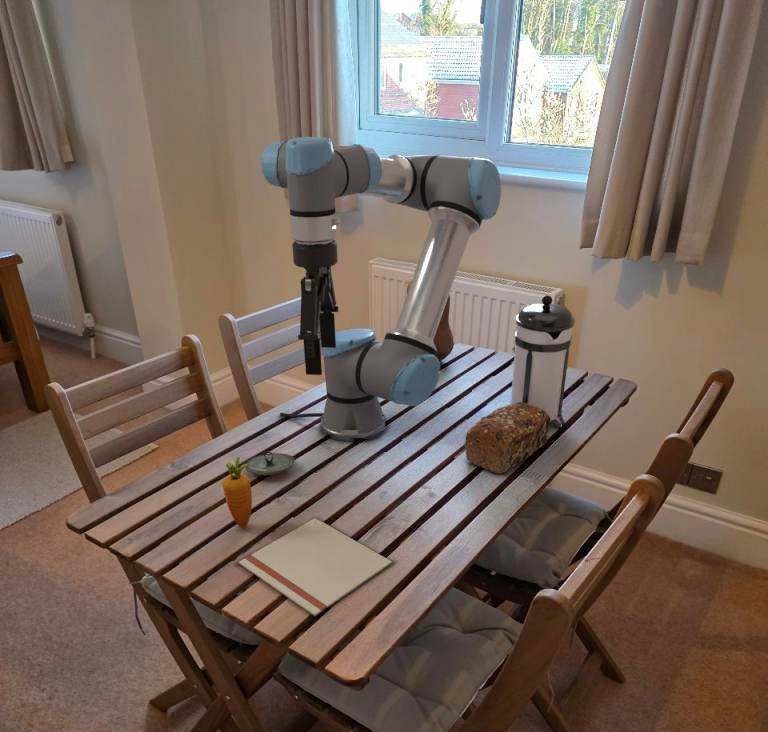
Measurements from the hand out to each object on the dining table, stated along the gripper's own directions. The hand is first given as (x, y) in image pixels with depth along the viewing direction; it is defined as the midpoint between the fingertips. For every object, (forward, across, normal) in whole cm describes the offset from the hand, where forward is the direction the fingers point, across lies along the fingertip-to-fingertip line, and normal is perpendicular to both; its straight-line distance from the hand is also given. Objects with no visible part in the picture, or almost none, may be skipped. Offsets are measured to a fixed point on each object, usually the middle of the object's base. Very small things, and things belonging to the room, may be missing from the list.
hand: (321, 360), depth 127 cm
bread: (+28, +18, -36) cm, 49 cm away
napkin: (+28, -24, -2) cm, 37 cm away
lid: (+28, +6, +14) cm, 32 cm away
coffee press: (+27, +37, -43) cm, 63 cm away
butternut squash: (+27, +69, -16) cm, 76 cm away
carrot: (+28, -15, +14) cm, 35 cm away
